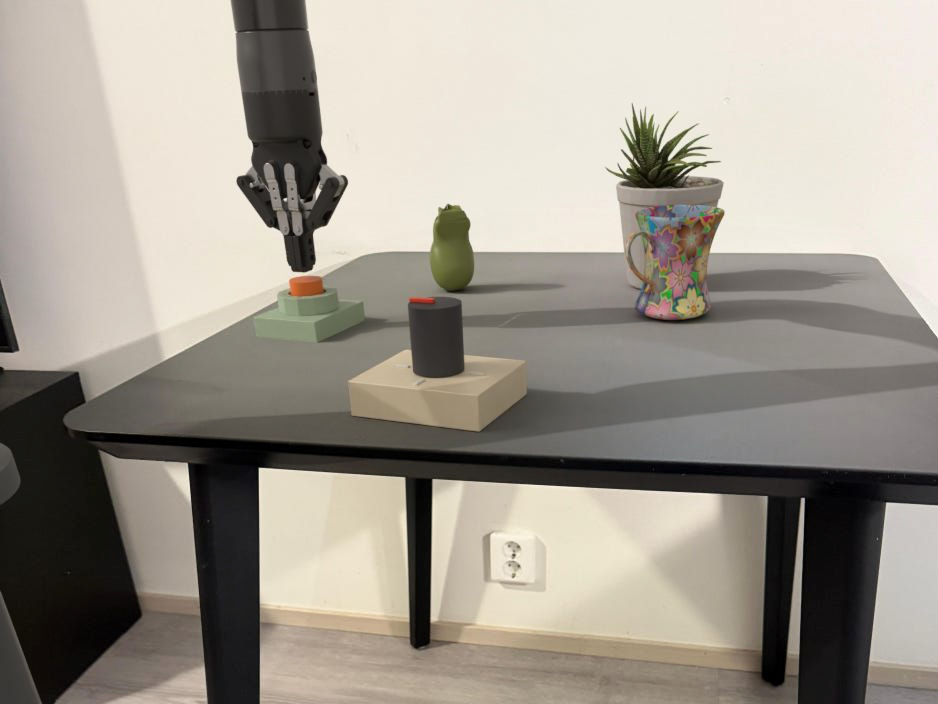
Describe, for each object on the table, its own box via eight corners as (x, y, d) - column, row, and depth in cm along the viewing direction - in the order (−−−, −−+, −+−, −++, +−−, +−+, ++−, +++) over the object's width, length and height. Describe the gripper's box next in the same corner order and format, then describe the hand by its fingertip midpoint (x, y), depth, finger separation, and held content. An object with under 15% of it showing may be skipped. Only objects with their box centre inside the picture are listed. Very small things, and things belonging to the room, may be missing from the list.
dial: (472, 364, 79) (469, 294, 76) (452, 379, 76) (448, 306, 73) (425, 360, 81) (420, 291, 77) (404, 375, 77) (398, 303, 74)
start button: (312, 300, 100) (310, 283, 99) (284, 298, 101) (282, 281, 100) (330, 293, 103) (328, 276, 102) (303, 291, 104) (301, 274, 103)
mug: (672, 300, 109) (679, 201, 103) (732, 314, 102) (743, 210, 96) (594, 318, 103) (597, 215, 97) (653, 334, 96) (659, 224, 91)
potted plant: (643, 269, 124) (652, 97, 113) (733, 281, 116) (752, 97, 105) (584, 286, 117) (588, 104, 106) (676, 300, 109) (690, 104, 98)
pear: (470, 284, 121) (466, 200, 115) (480, 292, 116) (476, 205, 111) (428, 288, 119) (423, 203, 114) (436, 296, 115) (431, 209, 110)
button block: (317, 343, 99) (312, 304, 96) (256, 337, 102) (250, 299, 99) (365, 320, 106) (361, 284, 104) (307, 316, 109) (302, 280, 107)
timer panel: (479, 432, 74) (477, 393, 72) (351, 416, 78) (347, 379, 77) (527, 394, 81) (526, 358, 80) (407, 381, 86) (405, 347, 84)
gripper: (201, 89, 91) (232, 274, 100) (314, 86, 86) (335, 281, 95) (247, 85, 97) (273, 261, 106) (356, 82, 92) (372, 267, 101)
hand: (303, 270), depth 101 cm, fingers closed
